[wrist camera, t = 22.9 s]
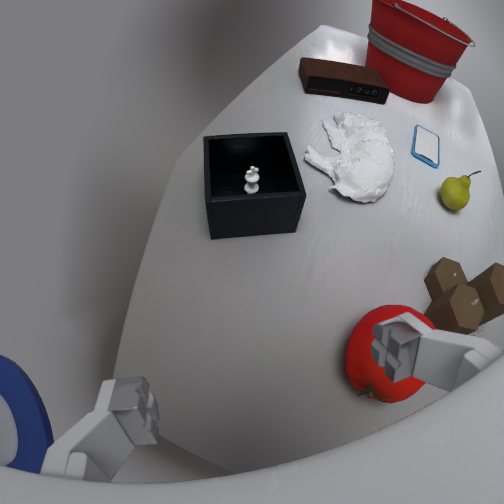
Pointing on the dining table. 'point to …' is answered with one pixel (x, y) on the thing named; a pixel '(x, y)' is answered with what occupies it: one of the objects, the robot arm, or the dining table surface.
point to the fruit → (456, 192)
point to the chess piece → (252, 180)
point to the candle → (463, 297)
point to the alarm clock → (342, 80)
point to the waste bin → (270, 184)
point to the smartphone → (426, 146)
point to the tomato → (363, 366)
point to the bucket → (413, 49)
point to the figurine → (357, 157)
